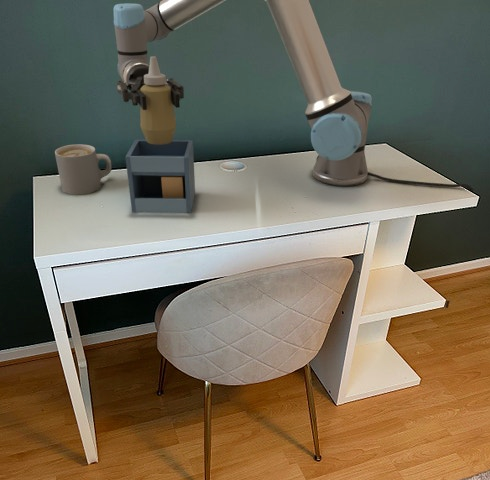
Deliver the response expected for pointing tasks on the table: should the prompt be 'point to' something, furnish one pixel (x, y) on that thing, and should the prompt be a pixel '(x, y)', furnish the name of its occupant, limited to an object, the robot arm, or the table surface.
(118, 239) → the table surface
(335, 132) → the robot arm
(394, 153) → the table surface
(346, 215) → the table surface
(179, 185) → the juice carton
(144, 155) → the grey storage cubby
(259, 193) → the table surface
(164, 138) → the squeeze bottle
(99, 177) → the coffee mug
